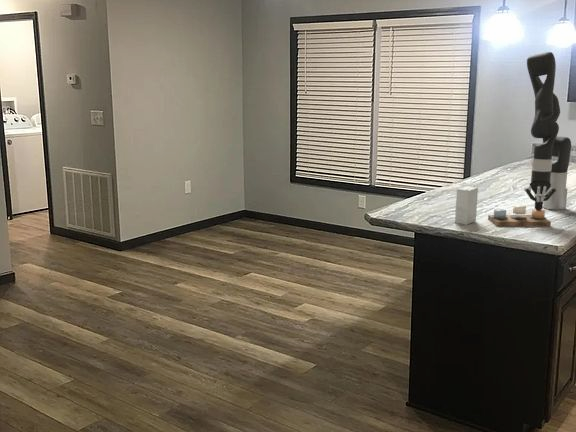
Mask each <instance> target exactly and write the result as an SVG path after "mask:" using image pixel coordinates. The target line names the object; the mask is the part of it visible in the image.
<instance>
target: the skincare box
mask: <svg viewBox="0 0 576 432" xmlns="http://www.w3.org/2000/svg"><path fill="white" fill-rule="evenodd" d="M478 193H479V188H478V187H474V186H468V185H465V186H463V187H460V188H456V198H455V199H456V200H455V212H454V213H455V214H454V215H455V217H454V222H455V223H456V224H461V225H466V224H467V225H468V224H472V223H474V222H476V221H477V211H478V210H477V208H478V195H479V194H478Z"/></svg>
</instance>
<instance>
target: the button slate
mask: <svg viewBox="0 0 576 432" xmlns="http://www.w3.org/2000/svg"><path fill="white" fill-rule="evenodd" d="M493 215H494V218H501V219H502V218H506V215H507V210H506V209H503V208H495V209H493Z"/></svg>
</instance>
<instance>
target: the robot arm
mask: <svg viewBox="0 0 576 432" xmlns="http://www.w3.org/2000/svg"><path fill="white" fill-rule="evenodd" d="M556 64H557V63H556V58H555V55H554V53H553V52H550V51H547V52H543V53H537V54H533V55H529V56H528V57H527V59H526V67H527V71H528V76H529V79H530V83H531V85H532V86H531V87H532V89H533V94H534V98H535V99H534V118H533V123H532V125H531V129H530V134H531V136H532V137H533V138H534V139H542V143H537V144H535V145H534V149H533V157H532V158H533V159H532V163H531V164H532V165H531V174H530V175H531V179H530V183H529V186H527V187H524V189H523V191H524V193H526V195H527V197H529V199H530V200H532V201H533V202H534V209H536V210H537V211H541V210H543V208H544V209H547V210H557V211H558V210H559V211H561V210H566V209H567V201H568V200H567V199H568V188H567V183H568V182H567V179H568V169H569V166H570V165H569V164H570V157H571V153H572V140H571V139H570V138H569V137H566V136H558V134H559V130H560V126H559V124H558V122H557V121H558V120H559V117H560V114H561V108H560V102H559V99H558V96H557V95H556V94H555V93H554V87H555V81H556V70H557V67H556V66H557V65H556ZM541 76H542V77H543V76H545V77H546V78H545V80H544V82H542V80H541ZM552 157H554V158H555V157H557V161H555V162H553V163H552ZM532 192H533V193H534V195H533V193H532Z"/></svg>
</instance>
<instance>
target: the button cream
mask: <svg viewBox="0 0 576 432" xmlns="http://www.w3.org/2000/svg"><path fill="white" fill-rule="evenodd" d="M526 207H527V206H526V205H523V204H515V205H514V204H513V209H512V213H513V215H526V211H527V208H526Z"/></svg>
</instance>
